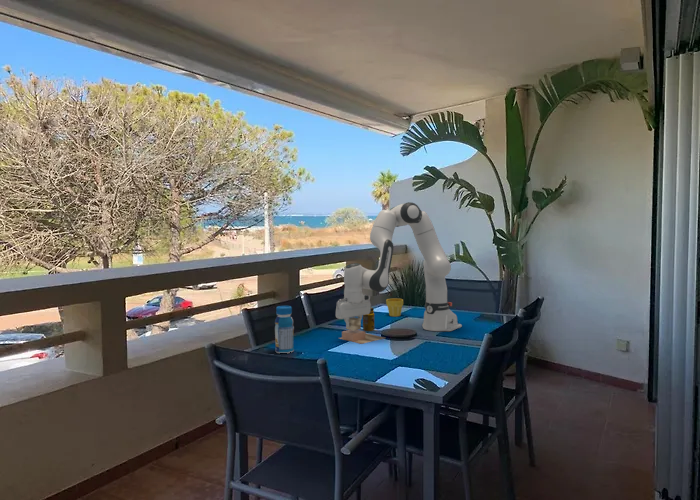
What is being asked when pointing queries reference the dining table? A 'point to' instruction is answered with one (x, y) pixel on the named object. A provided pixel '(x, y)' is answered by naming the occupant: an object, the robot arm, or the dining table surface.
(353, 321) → the maple cube
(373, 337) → the cork placemat
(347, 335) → the terracotta block
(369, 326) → the condiment
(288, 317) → the beverage bottle
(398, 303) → the plant pot
